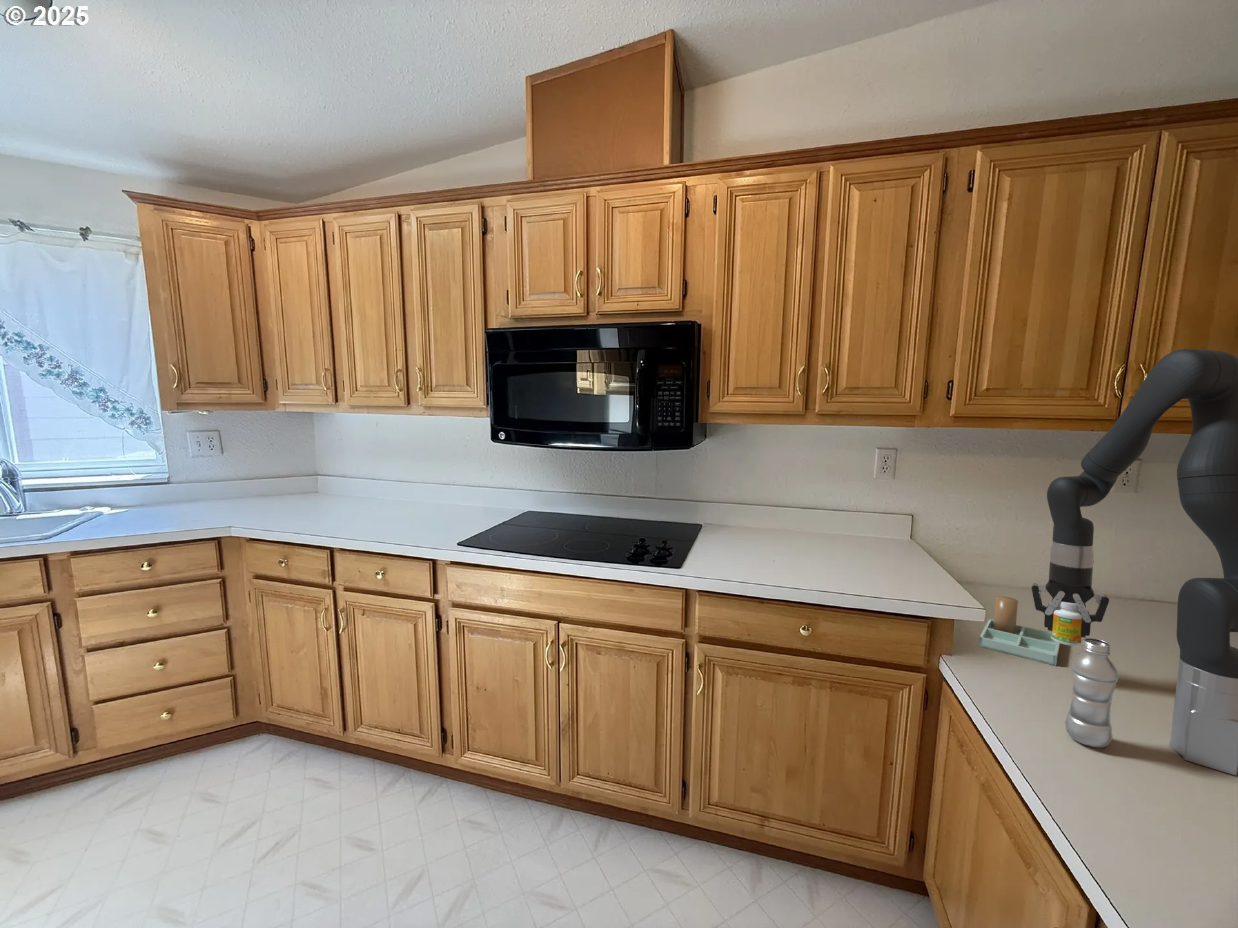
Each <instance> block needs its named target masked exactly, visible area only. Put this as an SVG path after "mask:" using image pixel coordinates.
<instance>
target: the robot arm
mask: <svg viewBox="0 0 1238 928" xmlns="http://www.w3.org/2000/svg"><path fill="white" fill-rule="evenodd" d="M1182 400H1188V403H1189V407H1190V414H1191V420H1192V421H1191V422H1192V428H1191V429H1192V430H1191V435H1190V438H1189V440H1188V442H1187V444H1186V445H1185V448H1184V450H1183V452H1182V454H1181V456H1180V458H1179V460H1178V461H1179V462H1178V464H1177V468H1176V479H1177V486H1178V487H1177V488H1178V494H1179V501H1180V505H1181V507H1182V508H1183V510H1184V512H1185V514H1187V516H1188V517H1189V518H1190V520H1191V521H1192V522H1193V523H1194V524H1195V525H1196V526H1197V528H1198V529H1199V530H1200V531H1201V532H1202V533H1203V534H1204V535H1205V536H1206V537H1207V539H1208V540H1209V541H1210V542H1211V543H1212V545H1213V546H1214V548H1215V549H1216V552H1217V553H1218V555H1219V558H1220V564H1221V567H1222V571H1223V572H1222V573H1223V577H1194V578H1191V579H1188V580H1187V581H1185V582H1184V583H1183V584H1182V585H1181V587H1180V590H1179V593H1178V597H1177V611H1176V618H1177V619H1176V640H1177V644H1178V646H1179V659H1178V660H1179V661H1178V667H1177V668H1178V670H1177V678H1176V686H1175V695H1174V702H1173V703H1174V704H1173V709H1172V710H1173V712H1172V720H1171V731H1170V739H1169V740H1170V741H1169V745H1170V747H1171V748H1172V749H1173V750H1174V751H1175V752H1177V753H1178V754H1179V755H1181V756H1182V757H1183V760H1185V761H1188V762H1190V763H1194V764H1197V765H1200V766H1202V767H1203V766H1204V767H1208V768H1210V769H1213V770H1216V771H1219V772H1223V773H1226V774H1229V775H1232V776H1237V775H1238V648H1236V647H1233V646H1231V638H1230V636H1231V635H1230V633H1238V357H1237V356H1235V355H1234V354H1231V353H1230V352H1227V351H1222V350H1209V349H1198V348H1182V349H1177V350H1174V351H1171V352H1169V353H1167V354H1165V355H1164V356H1163V357H1161V358H1160V360H1158V361H1157V363H1155V365H1153V367H1152V369H1150V371H1149V373H1148V374H1147V375H1146V377H1145V379H1144V380H1143V381H1142V383H1141V384H1140V385H1139V387H1138V389H1137V390H1136V392H1135V393H1134V395H1133V396H1132V398H1131V399H1130V401H1129V402H1128V404H1127V406H1126V407H1125V408H1124V410H1123V411H1122V412H1121V414H1120V415H1119V417H1118V418H1117V420H1116V421H1115V422H1114V424H1113V425H1112V426H1111V427H1110V428H1109V430H1108V431H1107V432H1106V433H1105V434H1104V435H1103V436H1102V437H1101V438H1100V439H1099V440H1098V442H1097V443H1095V445H1093V447H1092V448H1091V449H1090V450H1088V452H1087V453H1086V454H1085V455H1084V456H1083V458H1082V459H1081V462H1080V466H1081V468H1082V470H1083V472H1081V473H1080V474H1079V475H1077V476H1076V475H1074V476H1072V475H1071V476H1060V477H1057V478H1055V479H1054V480H1052V481H1051V482H1050V484H1049V486H1048V488H1047V491H1046V499H1047V504H1048V508H1049V511H1050V516H1051V519H1052V523H1053V526H1052V527H1053V528H1052V529H1053V530H1052V541H1051V542H1052V543H1051V547H1050V553H1049V554H1050V555H1049V569H1048V572H1049V573H1048V581H1047V583H1045V584H1038V583H1036V582H1035V583H1033V584H1032V585H1031V592H1032V593H1031V594H1032V597H1033V602H1034V609H1035V610H1036V611H1039V612H1041V613H1043V614H1044V620H1043V621H1044V623H1043V626H1044V628H1047V631H1048V632H1051V631H1052V614H1053V611H1054V609H1055V608H1056V607H1058V606H1057V605H1058V604H1059V602H1060V601H1064V602H1069V603H1075V604H1077V606H1078V608H1079V609H1078V611H1080V613H1081V614H1082V616H1083V623H1082V638H1083V639H1084V638H1087V637H1089V636H1090V635H1091V627H1092V626H1091V624H1092V623H1094V622H1098V623H1101V622H1102V621H1103V620H1104V617H1105V614H1106V611H1107V608H1108V605H1109V602H1110V597H1109V595H1108V594H1100V593H1097V592H1095V591H1094V590H1093V587H1092V584H1093V573H1094V572H1093V571H1094V548H1093V547H1094V546H1093V545H1094V532H1095V529H1094V528H1095V527H1094V523H1093V521H1092V520H1090V519H1088V518H1085V517H1083V516H1082V515H1083V514H1082V511H1081V507H1083V508H1084V507H1091V506H1094V505H1097V504H1098V503H1100V502H1102V501H1103V500H1104V499H1105V498H1106V497H1107V496H1108V495H1109V493H1110V492H1111V491H1112V489H1113V487H1114V486H1115V484H1116V481H1117V479H1118V478H1119V476H1121V474H1122V473H1124V472H1125V471H1126V470H1127V469H1128V468H1129V467H1130V466H1131V465H1132V464H1134V462H1135V461H1136V460H1138V459H1139V457H1140V456H1141V455H1142V454H1143V453H1144V451H1145V450H1146V449H1147V446H1148V444H1149V442H1150V438H1151V435H1152V432H1153V429H1154V427H1155V425H1156V424H1157V423H1158V421H1159V419H1160V418H1161V417H1162V416H1163V415H1164V414H1165V413H1166V412H1167V411H1168V410H1169V409H1171V408H1172V407H1173V406H1174V405H1176V404H1178V402H1180V401H1182ZM1044 591H1047V592H1048V594H1049V595H1050V597H1052V598H1051V600H1050V602H1049V603H1048V605H1047V606H1046V605H1043V601H1042V596H1041V595H1043V594H1044ZM1092 598H1093V599H1095V603H1096V604H1097V608H1096V612H1095V613H1094V614H1090V610H1089V608H1088V606H1087V604H1086V603H1087V602H1088V601H1090V600H1092ZM1086 636H1087V637H1086Z"/></svg>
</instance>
